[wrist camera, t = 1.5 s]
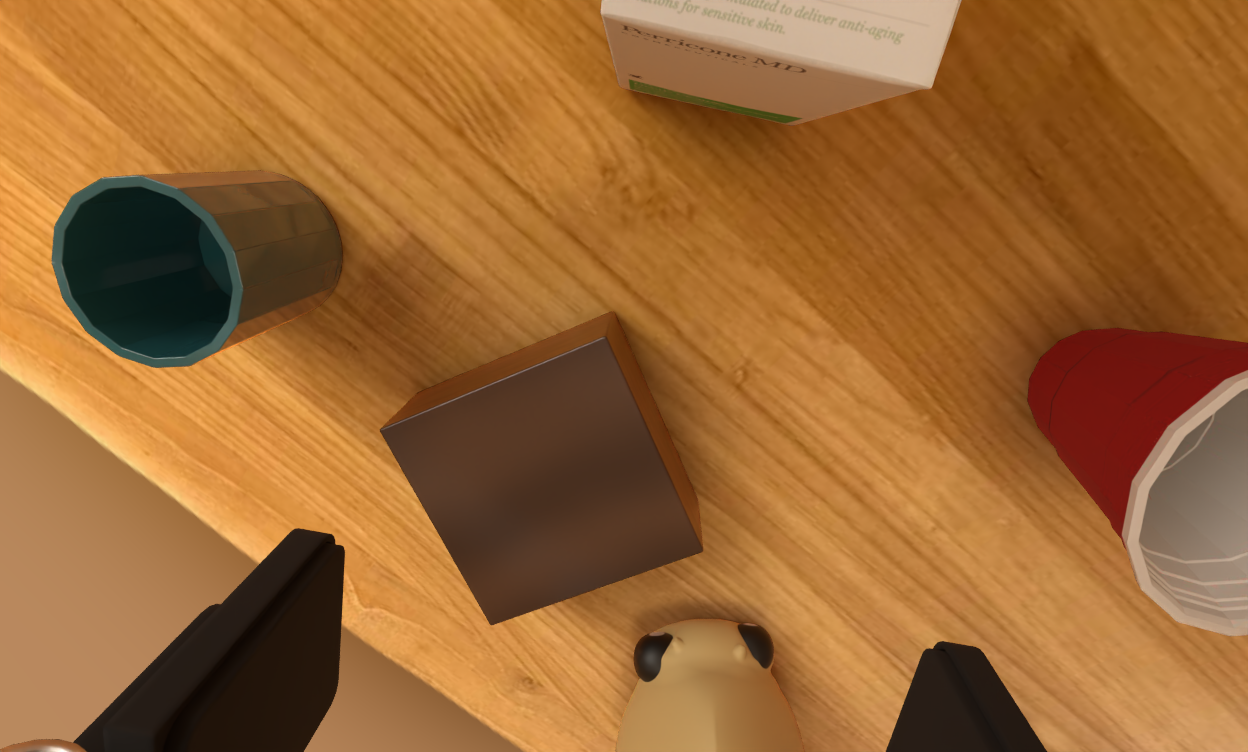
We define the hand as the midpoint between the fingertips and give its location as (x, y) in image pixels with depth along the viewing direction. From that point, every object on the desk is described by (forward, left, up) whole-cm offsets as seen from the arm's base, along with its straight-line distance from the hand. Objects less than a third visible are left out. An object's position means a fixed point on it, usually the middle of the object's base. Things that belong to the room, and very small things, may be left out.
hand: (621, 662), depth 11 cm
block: (+6, -5, -24) cm, 25 cm away
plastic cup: (+4, +21, -24) cm, 32 cm away
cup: (-5, -18, -24) cm, 30 cm away
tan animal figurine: (+21, +2, -24) cm, 32 cm away
